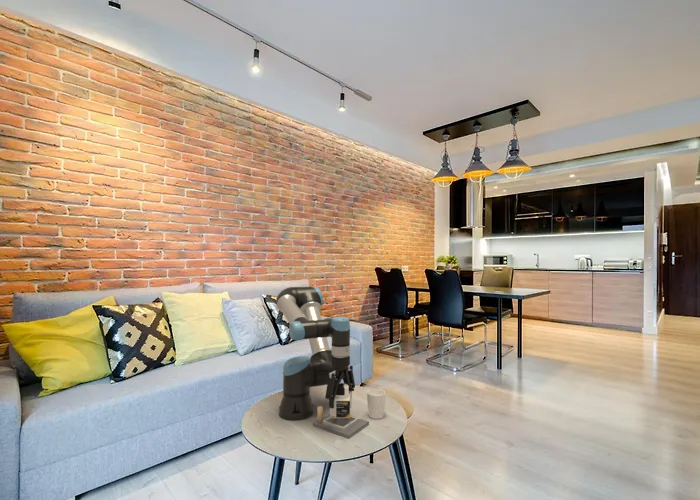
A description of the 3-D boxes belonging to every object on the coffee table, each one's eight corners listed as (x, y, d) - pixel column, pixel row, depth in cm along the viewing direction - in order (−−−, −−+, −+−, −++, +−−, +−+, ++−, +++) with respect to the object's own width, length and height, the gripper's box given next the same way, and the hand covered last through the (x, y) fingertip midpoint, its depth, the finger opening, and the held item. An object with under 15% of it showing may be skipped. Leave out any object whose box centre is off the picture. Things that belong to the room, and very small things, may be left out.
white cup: (384, 420, 147) (384, 396, 147) (365, 418, 148) (365, 394, 148) (386, 412, 154) (386, 389, 155) (368, 411, 156) (368, 388, 156)
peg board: (312, 425, 142) (312, 407, 142) (334, 413, 153) (334, 396, 153) (348, 438, 131) (348, 419, 132) (368, 424, 143) (368, 406, 143)
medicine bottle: (331, 418, 139) (332, 387, 139) (332, 411, 146) (332, 381, 146) (350, 418, 139) (350, 387, 139) (349, 411, 146) (350, 381, 146)
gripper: (330, 363, 132) (330, 423, 131) (363, 351, 150) (363, 404, 149) (315, 360, 136) (315, 418, 136) (349, 348, 155) (349, 400, 154)
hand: (340, 411), depth 142 cm, fingers closed on medicine bottle, 10 cm apart
